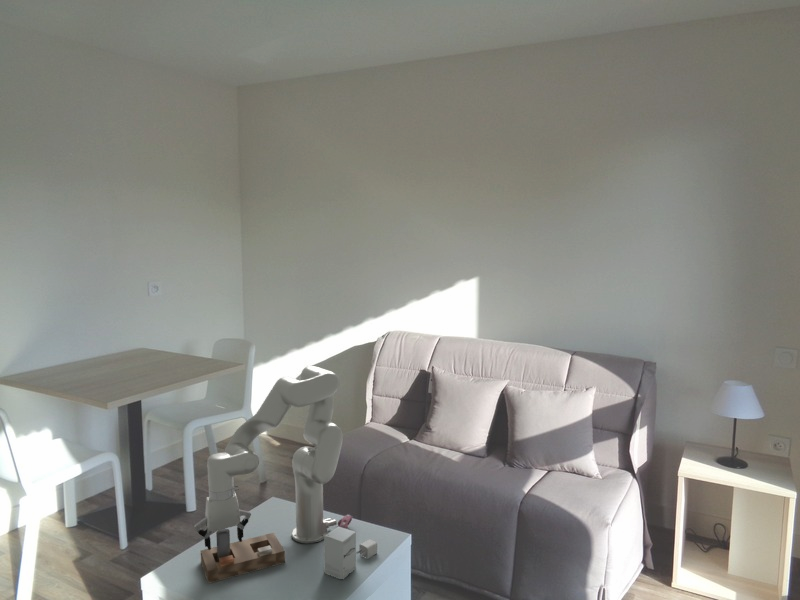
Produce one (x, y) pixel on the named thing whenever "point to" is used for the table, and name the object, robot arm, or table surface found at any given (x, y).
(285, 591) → the table surface
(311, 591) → the table surface
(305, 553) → the table surface
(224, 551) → the charcoal plug
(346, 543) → the supplement box
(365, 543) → the usb wall charger
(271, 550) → the socket block
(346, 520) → the video game controller
